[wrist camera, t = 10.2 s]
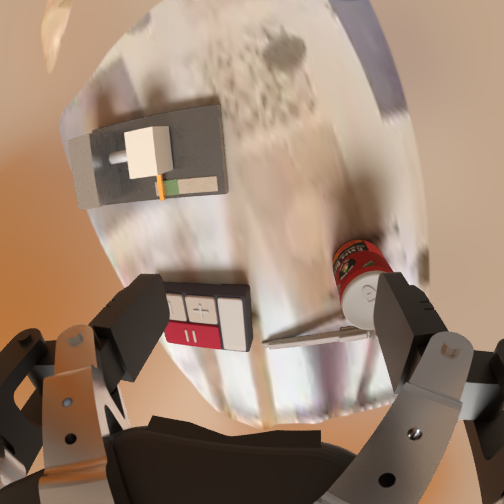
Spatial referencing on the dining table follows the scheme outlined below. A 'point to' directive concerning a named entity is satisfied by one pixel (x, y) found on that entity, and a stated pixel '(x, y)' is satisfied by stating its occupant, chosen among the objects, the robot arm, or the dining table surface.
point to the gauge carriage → (147, 154)
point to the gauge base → (146, 188)
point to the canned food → (359, 280)
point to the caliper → (323, 338)
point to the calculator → (209, 315)
